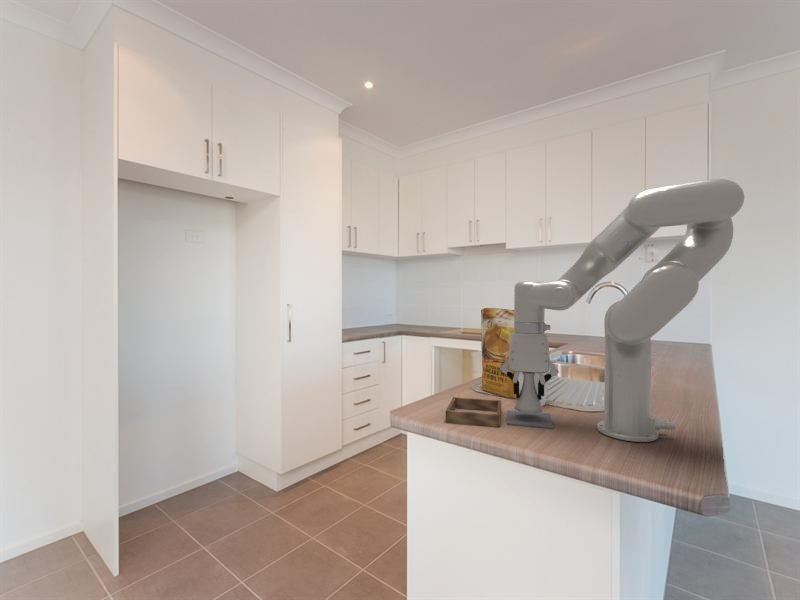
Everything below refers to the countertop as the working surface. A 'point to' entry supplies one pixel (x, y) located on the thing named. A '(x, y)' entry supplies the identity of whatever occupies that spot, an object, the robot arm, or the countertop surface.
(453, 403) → the walnut frame
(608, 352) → the robot arm
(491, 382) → the pancake mix bag
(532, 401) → the flask
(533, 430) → the countertop surface
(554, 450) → the countertop surface
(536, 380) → the foam cup
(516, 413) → the charcoal mat
